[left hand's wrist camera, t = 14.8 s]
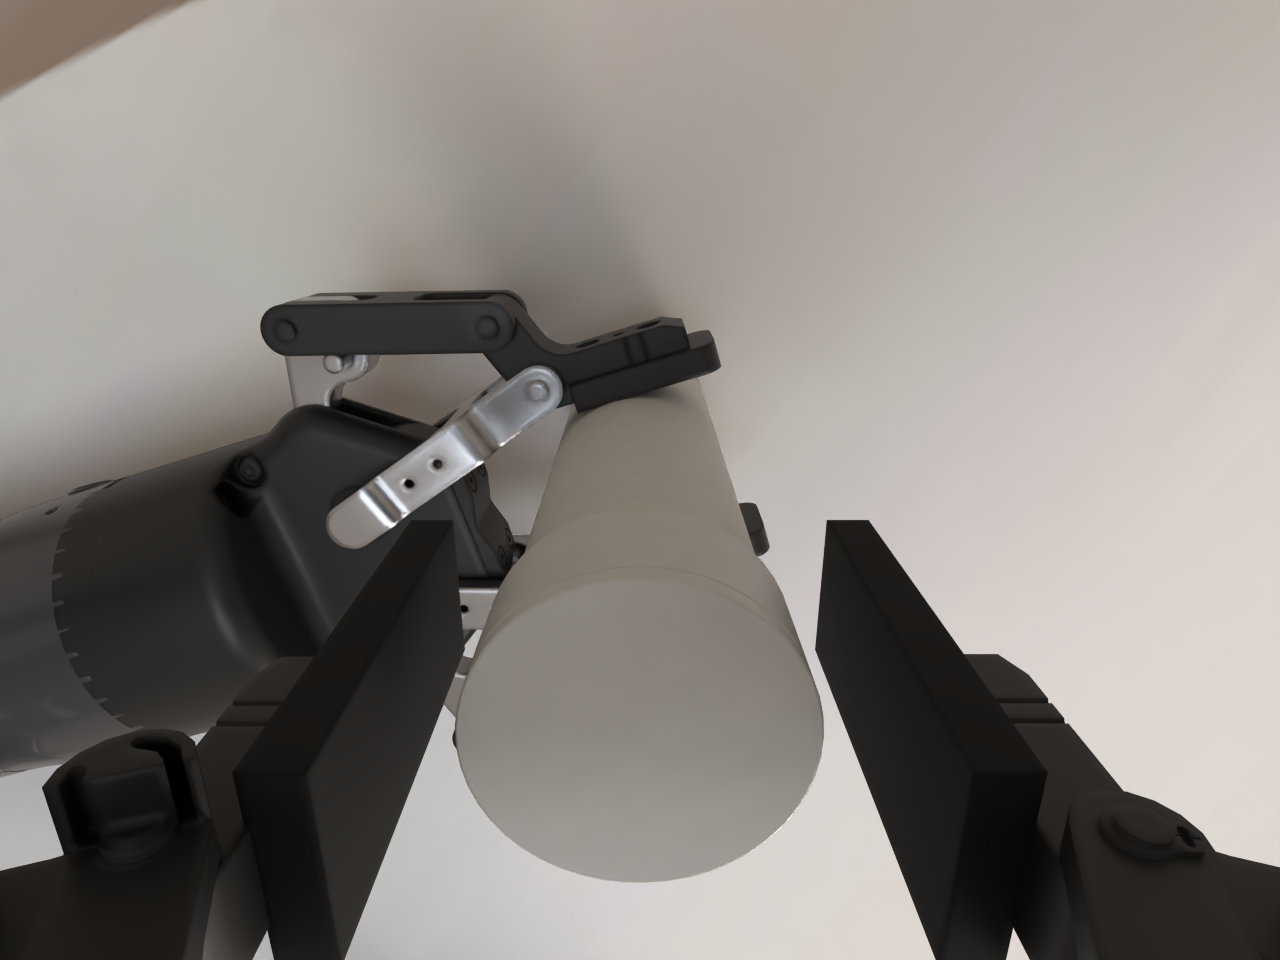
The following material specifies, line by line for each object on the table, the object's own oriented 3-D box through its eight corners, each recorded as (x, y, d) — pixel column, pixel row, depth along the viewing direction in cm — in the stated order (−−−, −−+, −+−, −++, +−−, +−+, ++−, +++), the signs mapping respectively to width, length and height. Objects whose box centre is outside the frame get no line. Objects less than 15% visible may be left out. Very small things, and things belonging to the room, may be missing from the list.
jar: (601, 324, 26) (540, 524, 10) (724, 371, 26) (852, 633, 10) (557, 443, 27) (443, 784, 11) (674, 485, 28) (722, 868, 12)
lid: (425, 653, 12) (379, 751, 10) (631, 442, 11) (629, 501, 9) (646, 817, 14) (647, 936, 11) (854, 641, 12) (901, 736, 10)
